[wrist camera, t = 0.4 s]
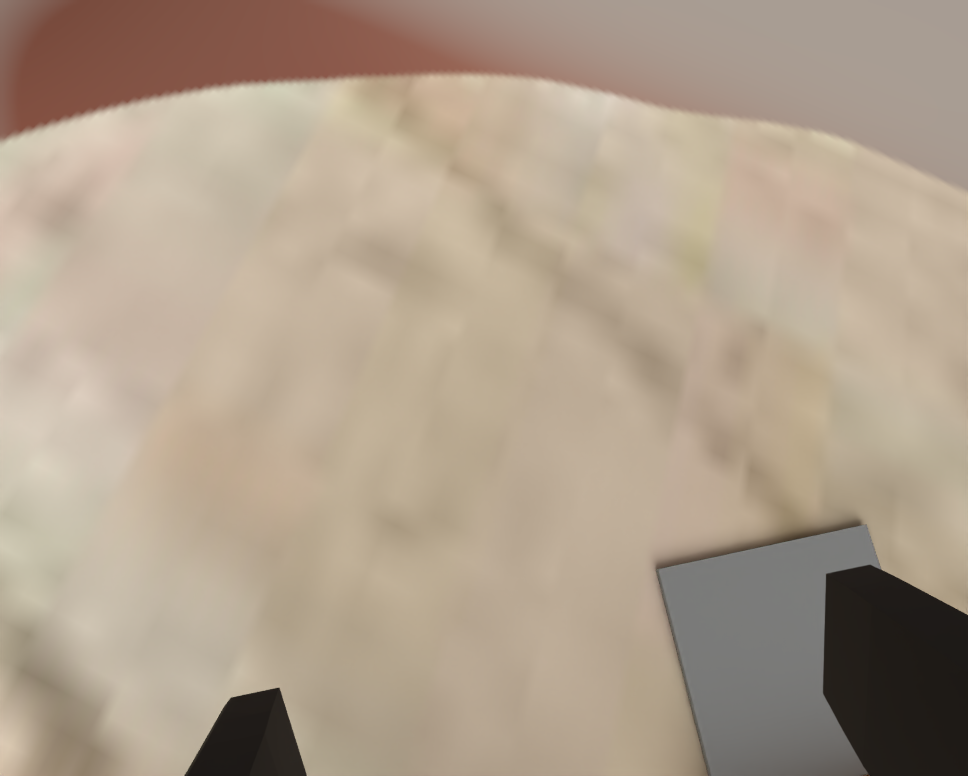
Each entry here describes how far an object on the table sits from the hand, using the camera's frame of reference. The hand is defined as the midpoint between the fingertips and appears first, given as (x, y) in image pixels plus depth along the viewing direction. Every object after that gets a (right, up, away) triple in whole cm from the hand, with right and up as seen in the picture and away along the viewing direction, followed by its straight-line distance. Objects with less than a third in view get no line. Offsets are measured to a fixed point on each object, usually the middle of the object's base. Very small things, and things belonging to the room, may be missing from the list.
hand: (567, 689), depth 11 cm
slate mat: (+13, -8, +25) cm, 29 cm away
